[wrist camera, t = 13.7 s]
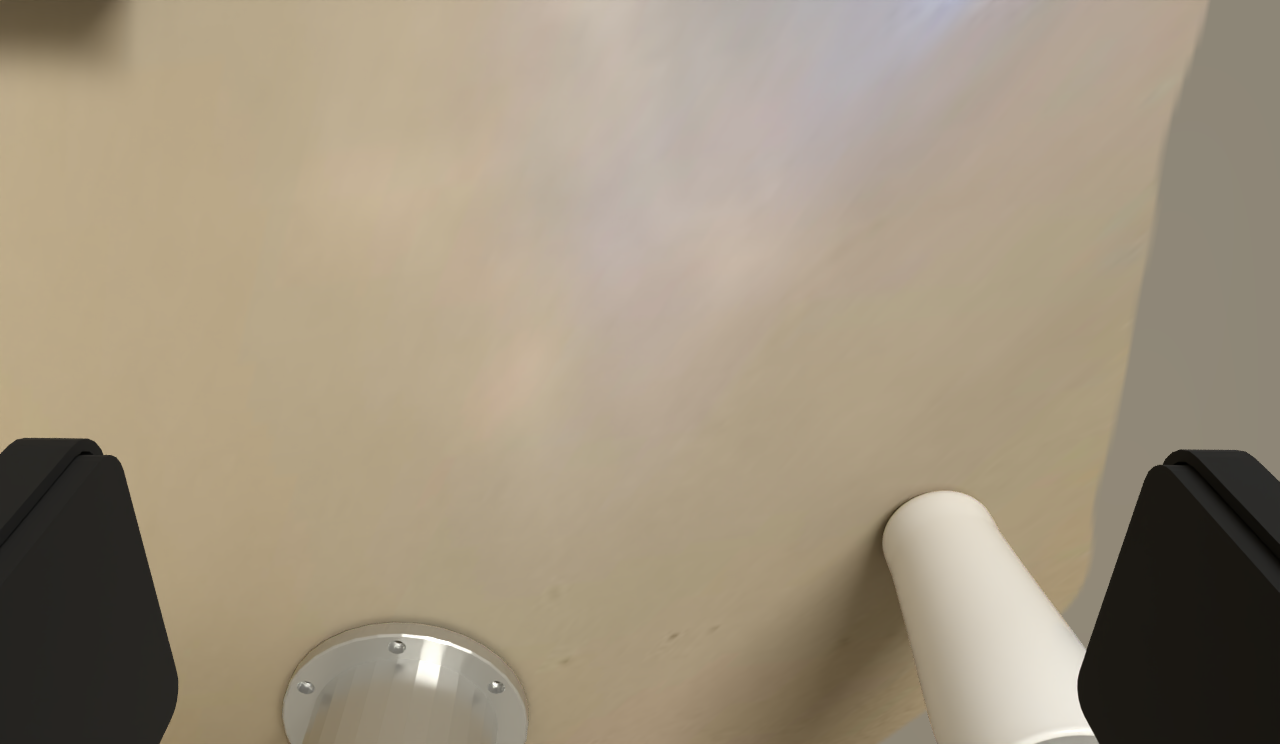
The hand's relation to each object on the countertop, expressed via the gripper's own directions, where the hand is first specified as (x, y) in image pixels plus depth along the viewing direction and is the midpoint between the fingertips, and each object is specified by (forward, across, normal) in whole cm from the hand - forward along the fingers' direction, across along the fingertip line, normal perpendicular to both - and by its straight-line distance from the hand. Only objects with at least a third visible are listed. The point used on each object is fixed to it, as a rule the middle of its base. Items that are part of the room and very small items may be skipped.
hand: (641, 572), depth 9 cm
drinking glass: (+31, -16, +23) cm, 41 cm away
